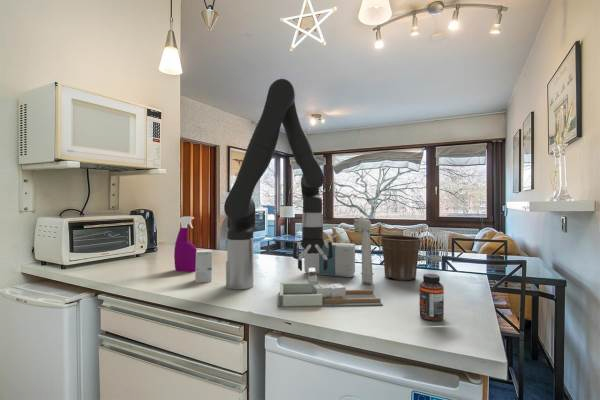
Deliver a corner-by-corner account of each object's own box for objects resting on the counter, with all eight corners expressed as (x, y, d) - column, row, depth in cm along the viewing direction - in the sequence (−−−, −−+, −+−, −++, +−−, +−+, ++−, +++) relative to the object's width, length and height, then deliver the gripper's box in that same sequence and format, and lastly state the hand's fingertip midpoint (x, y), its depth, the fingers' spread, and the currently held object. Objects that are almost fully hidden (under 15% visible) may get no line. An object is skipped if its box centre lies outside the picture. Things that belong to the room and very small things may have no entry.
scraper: (307, 281, 118) (309, 294, 107) (307, 267, 117) (309, 279, 106) (315, 281, 118) (317, 294, 107) (315, 267, 117) (318, 279, 106)
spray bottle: (177, 271, 139) (177, 216, 139) (198, 272, 136) (198, 216, 136) (172, 272, 136) (172, 216, 137) (194, 274, 133) (194, 216, 134)
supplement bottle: (415, 313, 86) (415, 272, 86) (436, 313, 87) (436, 272, 87) (426, 322, 80) (425, 278, 80) (448, 321, 81) (448, 277, 81)
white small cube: (332, 301, 96) (332, 288, 96) (326, 297, 100) (326, 284, 100) (345, 300, 97) (345, 287, 97) (339, 295, 101) (339, 283, 101)
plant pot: (412, 272, 136) (412, 235, 136) (429, 282, 120) (428, 239, 120) (375, 272, 136) (375, 235, 136) (386, 282, 119) (386, 240, 119)
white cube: (317, 302, 95) (316, 288, 95) (312, 297, 100) (311, 285, 100) (330, 300, 97) (330, 287, 97) (325, 296, 101) (325, 283, 101)
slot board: (277, 307, 92) (277, 302, 92) (278, 293, 106) (278, 289, 106) (382, 305, 93) (382, 300, 93) (370, 291, 107) (370, 287, 107)
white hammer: (371, 285, 115) (370, 217, 115) (353, 283, 118) (353, 216, 118) (374, 282, 120) (374, 216, 120) (357, 280, 123) (357, 216, 123)
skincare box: (195, 284, 117) (194, 252, 117) (196, 281, 122) (196, 250, 122) (212, 283, 119) (212, 251, 119) (212, 280, 123) (212, 249, 123)
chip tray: (279, 306, 92) (279, 295, 92) (280, 292, 106) (280, 283, 106) (322, 305, 92) (322, 295, 92) (317, 291, 106) (317, 282, 106)
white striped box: (303, 274, 133) (303, 227, 133) (310, 270, 140) (310, 225, 140) (352, 279, 125) (352, 228, 125) (356, 274, 132) (356, 227, 132)
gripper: (293, 226, 109) (293, 272, 109) (333, 225, 110) (333, 272, 110) (292, 224, 117) (292, 268, 117) (330, 224, 117) (330, 267, 117)
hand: (312, 270), depth 113 cm, fingers open, 8 cm apart
